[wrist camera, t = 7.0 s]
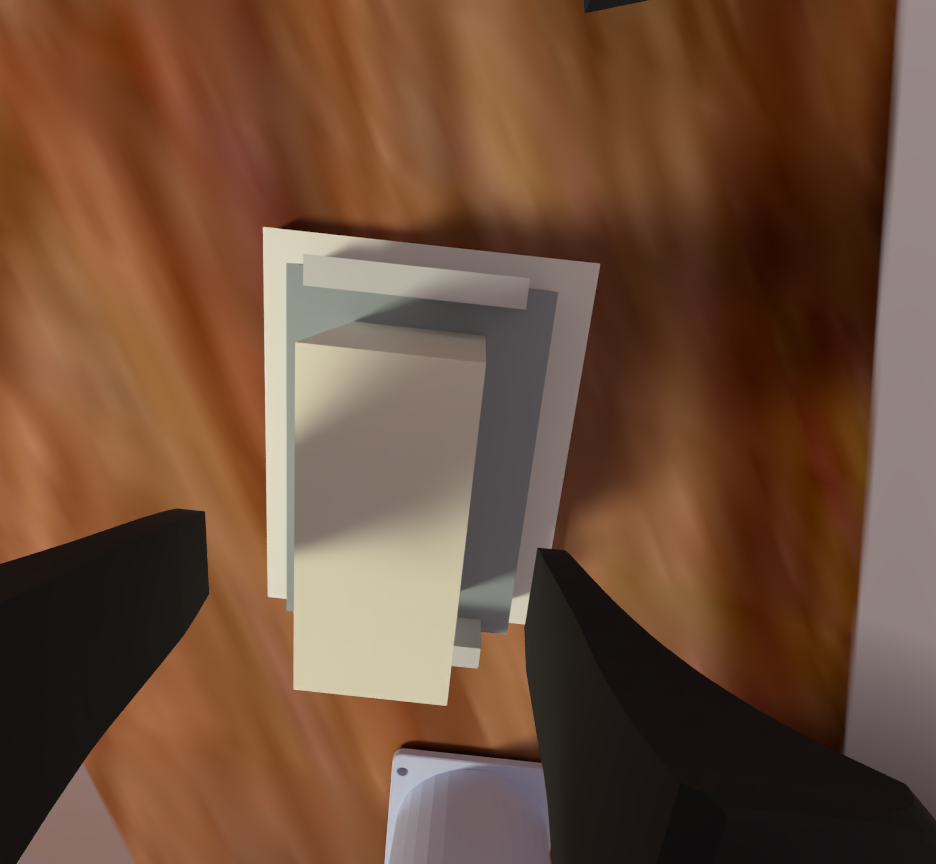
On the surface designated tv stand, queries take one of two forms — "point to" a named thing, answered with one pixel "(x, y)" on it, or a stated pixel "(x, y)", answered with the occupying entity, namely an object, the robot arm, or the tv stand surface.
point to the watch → (605, 4)
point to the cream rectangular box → (382, 506)
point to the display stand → (503, 401)
